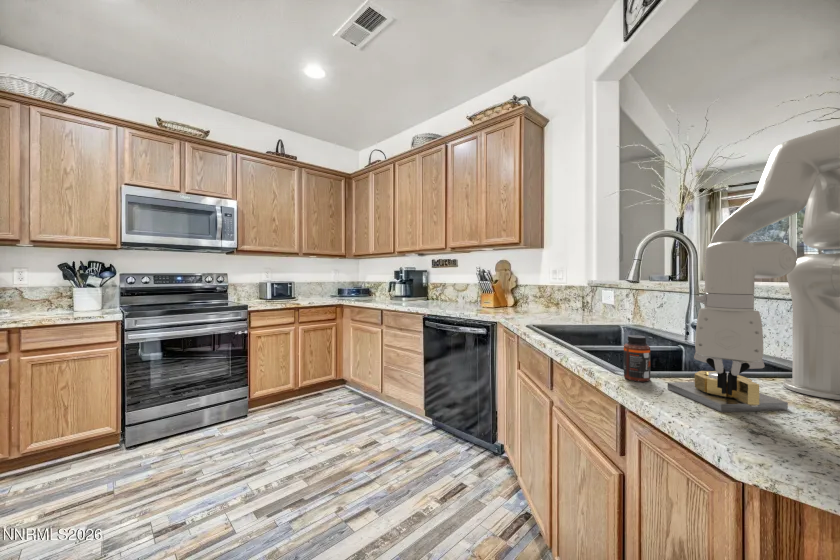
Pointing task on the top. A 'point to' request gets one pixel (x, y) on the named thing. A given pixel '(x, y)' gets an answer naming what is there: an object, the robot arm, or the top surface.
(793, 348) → the robot arm
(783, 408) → the spindle plate
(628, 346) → the supplement bottle
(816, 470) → the top surface
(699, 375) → the segmented octagonal ring
